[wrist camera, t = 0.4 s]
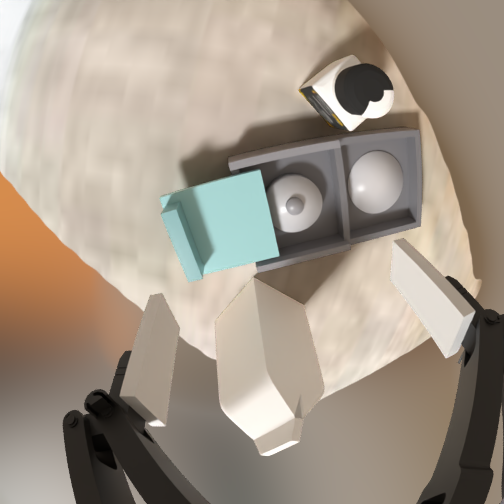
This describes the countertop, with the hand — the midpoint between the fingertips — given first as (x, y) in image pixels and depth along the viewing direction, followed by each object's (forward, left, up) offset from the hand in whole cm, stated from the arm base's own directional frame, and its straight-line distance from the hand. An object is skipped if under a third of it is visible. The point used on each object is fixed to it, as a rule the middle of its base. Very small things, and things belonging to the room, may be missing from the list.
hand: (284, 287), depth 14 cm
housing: (+5, +12, -26) cm, 29 cm away
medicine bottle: (-9, +14, -26) cm, 31 cm away
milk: (+25, -4, -26) cm, 36 cm away
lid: (+5, -5, -22) cm, 23 cm away
